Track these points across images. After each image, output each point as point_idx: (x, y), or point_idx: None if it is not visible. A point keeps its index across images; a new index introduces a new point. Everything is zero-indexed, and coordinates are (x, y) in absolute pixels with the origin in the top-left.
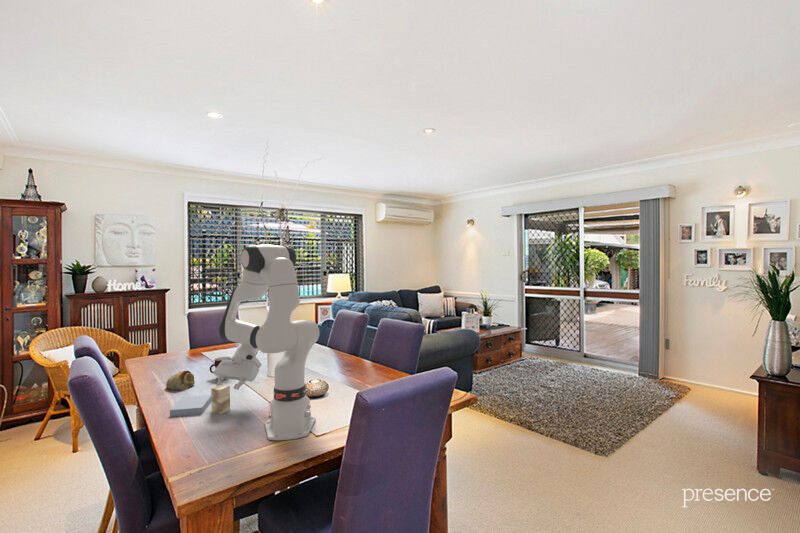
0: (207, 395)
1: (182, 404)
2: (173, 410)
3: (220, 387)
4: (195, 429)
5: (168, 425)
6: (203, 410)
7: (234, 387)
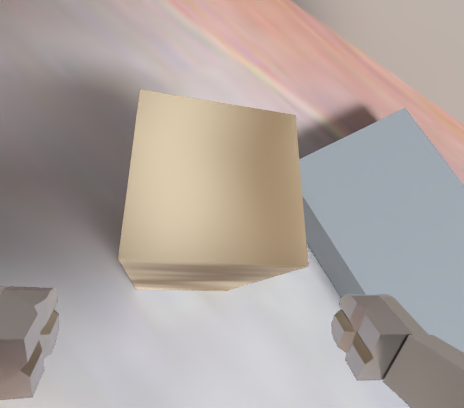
0: None
1: (427, 185)
2: (391, 116)
3: (214, 167)
4: (135, 15)
5: (293, 45)
6: None
7: (34, 288)
